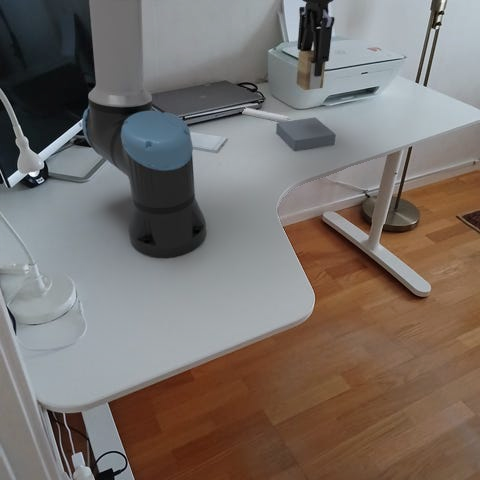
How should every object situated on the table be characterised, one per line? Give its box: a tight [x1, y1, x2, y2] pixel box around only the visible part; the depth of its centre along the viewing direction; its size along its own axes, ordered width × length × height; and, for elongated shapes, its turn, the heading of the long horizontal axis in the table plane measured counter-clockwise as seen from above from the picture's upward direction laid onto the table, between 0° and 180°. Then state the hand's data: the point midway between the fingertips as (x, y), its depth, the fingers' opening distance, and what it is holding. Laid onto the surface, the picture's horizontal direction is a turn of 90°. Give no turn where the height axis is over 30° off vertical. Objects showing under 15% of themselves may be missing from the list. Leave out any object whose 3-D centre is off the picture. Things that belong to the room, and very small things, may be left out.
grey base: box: [275, 116, 336, 152], centre depth 124 cm, size 12×12×3 cm
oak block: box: [296, 49, 326, 91], centre depth 113 cm, size 5×5×8 cm
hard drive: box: [190, 131, 229, 154], centre depth 122 cm, size 2×8×12 cm
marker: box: [241, 107, 293, 123], centre depth 136 cm, size 18×2×2 cm, turn 62°
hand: (309, 84), depth 116 cm, fingers closed on oak block, 5 cm apart
